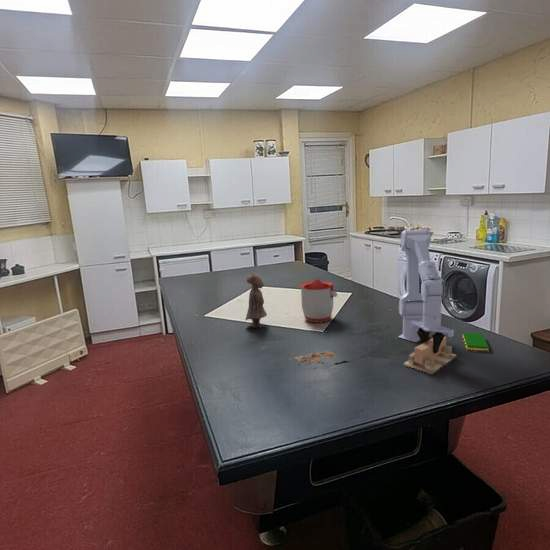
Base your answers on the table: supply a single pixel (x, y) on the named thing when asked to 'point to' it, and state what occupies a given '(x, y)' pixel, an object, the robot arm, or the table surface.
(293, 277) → the table surface
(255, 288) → the clay figurine
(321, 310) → the citrus juicer
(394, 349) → the table surface
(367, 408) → the table surface
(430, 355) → the clay strip
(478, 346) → the dish sponge
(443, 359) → the birch rack
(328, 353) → the bark
